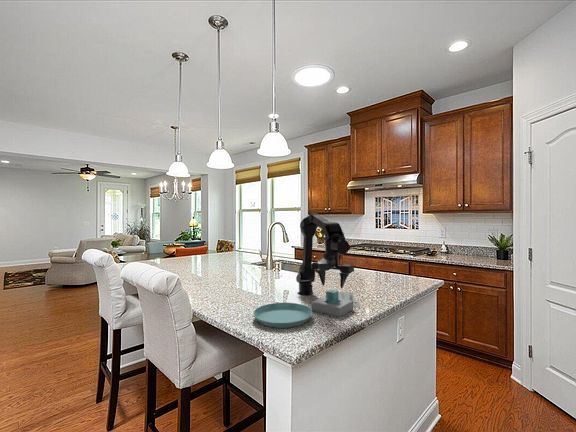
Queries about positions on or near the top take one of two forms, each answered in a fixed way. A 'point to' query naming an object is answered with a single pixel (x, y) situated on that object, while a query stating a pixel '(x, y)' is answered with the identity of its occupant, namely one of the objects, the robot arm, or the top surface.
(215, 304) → the top surface
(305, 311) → the saucer
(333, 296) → the teal peg
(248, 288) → the top surface
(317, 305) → the well block
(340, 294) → the metal bracket
